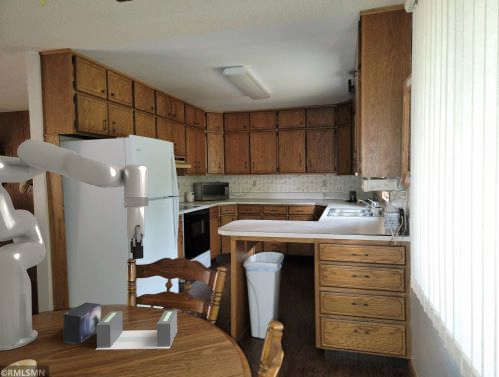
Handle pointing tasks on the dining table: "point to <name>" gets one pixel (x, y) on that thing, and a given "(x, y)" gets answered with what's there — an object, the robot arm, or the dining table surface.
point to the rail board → (136, 340)
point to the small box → (81, 323)
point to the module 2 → (166, 328)
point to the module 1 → (109, 329)
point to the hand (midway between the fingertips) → (136, 255)
